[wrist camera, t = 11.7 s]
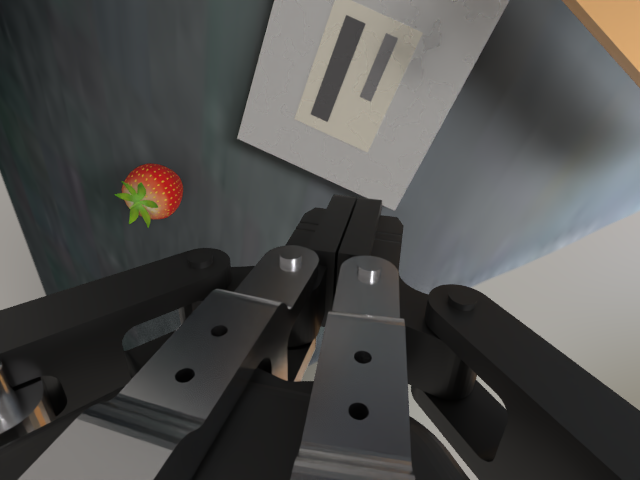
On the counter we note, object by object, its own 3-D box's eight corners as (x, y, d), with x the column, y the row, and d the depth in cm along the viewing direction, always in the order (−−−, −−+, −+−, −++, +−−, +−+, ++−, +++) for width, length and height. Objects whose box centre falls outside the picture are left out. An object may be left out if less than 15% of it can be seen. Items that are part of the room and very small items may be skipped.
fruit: (146, 179, 46) (95, 209, 39) (163, 143, 43) (113, 169, 36) (186, 209, 46) (144, 244, 40) (206, 175, 44) (164, 206, 37)
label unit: (307, -90, 31) (298, -96, 29) (505, -1, 31) (510, -1, 29) (245, 132, 40) (235, 139, 38) (396, 202, 40) (394, 212, 38)
